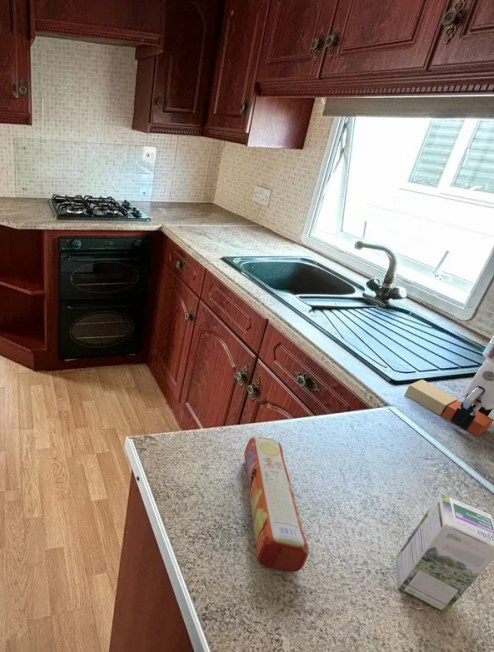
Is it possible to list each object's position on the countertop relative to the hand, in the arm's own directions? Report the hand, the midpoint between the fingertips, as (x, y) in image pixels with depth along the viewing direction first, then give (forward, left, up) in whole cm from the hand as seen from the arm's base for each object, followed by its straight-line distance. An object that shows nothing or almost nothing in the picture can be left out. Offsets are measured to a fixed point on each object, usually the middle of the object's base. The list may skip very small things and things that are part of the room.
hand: (468, 419), depth 91 cm
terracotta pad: (0, 0, -1) cm, 1 cm away
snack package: (+4, +61, -1) cm, 61 cm away
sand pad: (+8, 0, -1) cm, 8 cm away
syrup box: (-14, +49, -1) cm, 51 cm away
